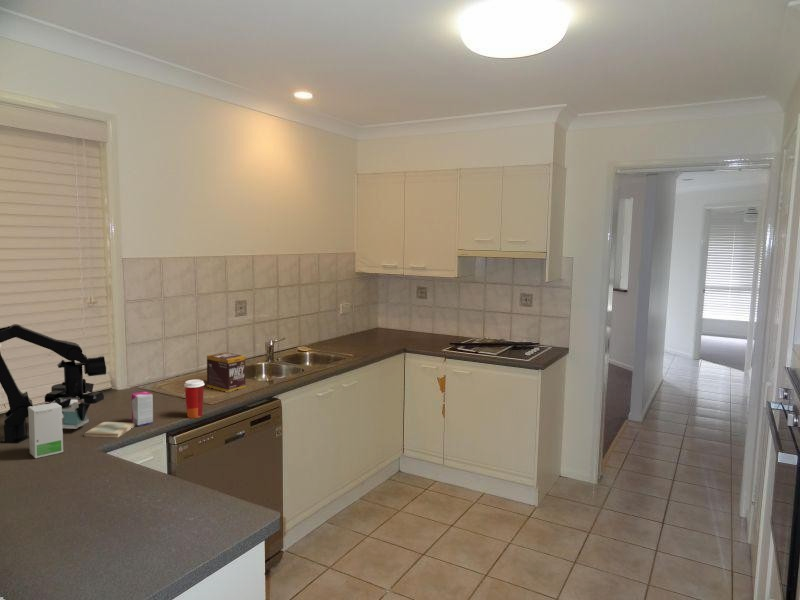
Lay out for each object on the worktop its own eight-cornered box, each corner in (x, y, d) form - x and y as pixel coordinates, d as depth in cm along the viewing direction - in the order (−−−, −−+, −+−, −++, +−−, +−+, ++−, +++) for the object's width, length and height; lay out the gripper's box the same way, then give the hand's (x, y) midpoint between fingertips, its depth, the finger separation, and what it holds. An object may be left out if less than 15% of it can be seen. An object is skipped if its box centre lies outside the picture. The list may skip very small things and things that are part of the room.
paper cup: (200, 411, 220) (199, 378, 218) (208, 416, 214) (207, 381, 213) (180, 415, 214) (180, 381, 213) (189, 420, 209) (188, 385, 207)
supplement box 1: (153, 423, 205) (152, 393, 204) (137, 426, 201) (136, 397, 200) (147, 419, 209) (146, 390, 208) (131, 423, 205) (130, 393, 204)
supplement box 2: (228, 393, 247) (228, 359, 245) (206, 387, 255) (206, 355, 253) (246, 388, 255) (245, 355, 254) (224, 383, 264) (224, 351, 262)
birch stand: (117, 437, 190) (117, 433, 190) (84, 436, 191) (84, 432, 190) (135, 425, 202) (135, 422, 202) (104, 424, 202) (104, 421, 202)
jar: (47, 416, 211) (46, 386, 209) (69, 410, 218) (67, 381, 216) (60, 420, 206) (59, 389, 205) (82, 414, 213) (80, 384, 212)
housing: (75, 428, 193) (74, 409, 192) (62, 428, 193) (61, 408, 192) (88, 421, 200) (88, 402, 199) (75, 421, 200) (74, 402, 200)
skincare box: (34, 459, 170) (32, 411, 169) (29, 453, 175) (26, 406, 173) (64, 452, 177) (62, 405, 175) (58, 446, 181) (56, 401, 179)
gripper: (111, 373, 202) (113, 413, 204) (63, 371, 203) (64, 412, 205) (93, 381, 191) (95, 423, 193) (42, 379, 192) (44, 421, 194)
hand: (75, 419), depth 196 cm, fingers closed on housing, 5 cm apart
